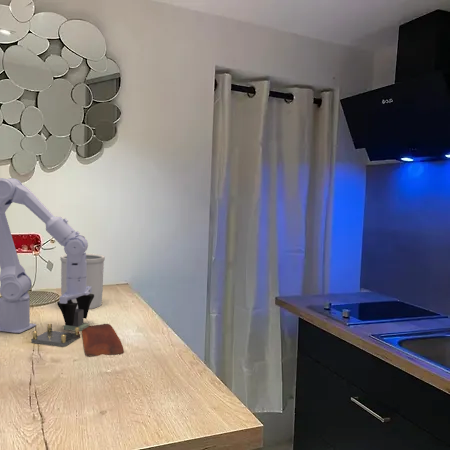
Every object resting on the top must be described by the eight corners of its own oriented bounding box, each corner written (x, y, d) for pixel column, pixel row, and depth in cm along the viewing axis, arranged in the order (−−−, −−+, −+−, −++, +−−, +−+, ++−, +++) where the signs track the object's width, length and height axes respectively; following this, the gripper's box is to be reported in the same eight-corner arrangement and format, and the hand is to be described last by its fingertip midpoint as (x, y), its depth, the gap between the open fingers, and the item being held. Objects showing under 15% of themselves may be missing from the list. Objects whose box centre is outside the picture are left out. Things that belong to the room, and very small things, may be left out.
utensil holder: (86, 297, 178) (86, 251, 176) (112, 304, 169) (113, 256, 167) (51, 305, 166) (51, 255, 164) (78, 313, 157) (78, 261, 155)
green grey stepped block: (63, 329, 140) (63, 311, 139) (71, 325, 144) (71, 307, 143) (81, 331, 139) (81, 313, 138) (88, 327, 142) (88, 309, 142)
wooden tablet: (125, 356, 122) (125, 350, 122) (85, 360, 119) (85, 353, 119) (113, 325, 147) (113, 320, 147) (80, 327, 144) (80, 322, 144)
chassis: (31, 342, 128) (31, 331, 128) (48, 333, 136) (48, 323, 135) (64, 346, 125) (64, 335, 125) (80, 337, 133) (80, 327, 133)
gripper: (75, 282, 132) (75, 330, 133) (100, 273, 146) (100, 316, 147) (52, 280, 134) (52, 327, 135) (80, 271, 148) (80, 314, 149)
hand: (76, 321), depth 141 cm, fingers open, 7 cm apart
